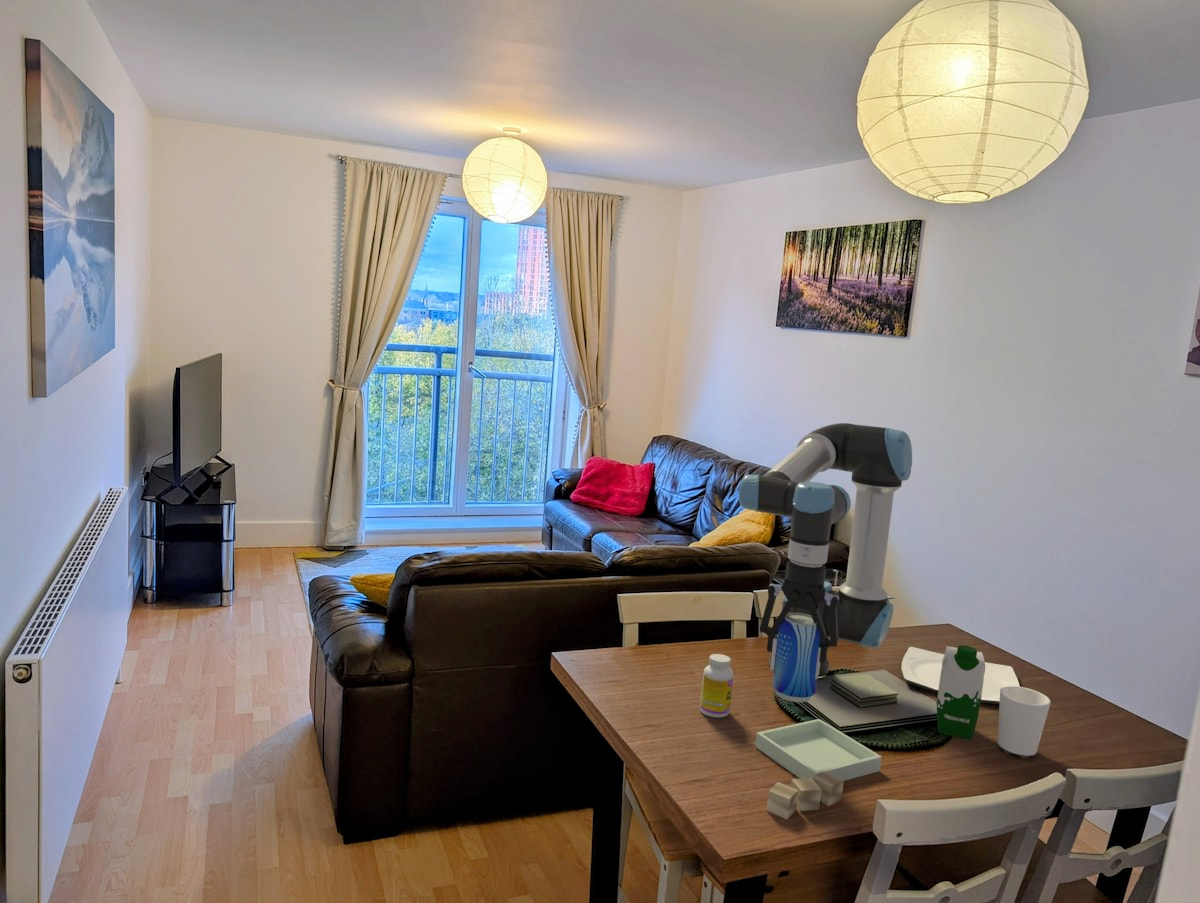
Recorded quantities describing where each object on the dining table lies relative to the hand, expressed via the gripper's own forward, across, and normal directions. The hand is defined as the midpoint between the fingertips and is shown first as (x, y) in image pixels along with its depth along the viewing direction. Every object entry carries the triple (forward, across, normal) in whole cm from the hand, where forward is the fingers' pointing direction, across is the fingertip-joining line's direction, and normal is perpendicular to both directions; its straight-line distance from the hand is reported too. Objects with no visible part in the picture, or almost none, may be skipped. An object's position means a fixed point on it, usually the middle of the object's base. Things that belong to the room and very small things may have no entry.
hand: (794, 671), depth 173 cm
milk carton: (+19, +32, +33) cm, 50 cm away
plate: (+20, +34, +65) cm, 76 cm away
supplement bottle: (+19, -18, +13) cm, 29 cm away
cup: (+19, +45, +30) cm, 57 cm away
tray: (+19, +6, +3) cm, 20 cm away
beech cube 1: (+18, +10, -11) cm, 24 cm away
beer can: (+5, 0, 0) cm, 5 cm away
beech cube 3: (+18, +3, -20) cm, 27 cm away
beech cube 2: (+18, +6, -16) cm, 25 cm away
